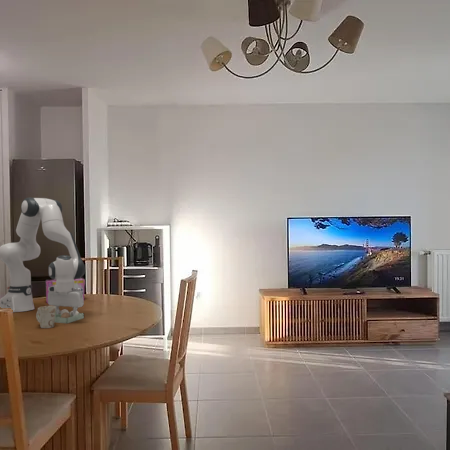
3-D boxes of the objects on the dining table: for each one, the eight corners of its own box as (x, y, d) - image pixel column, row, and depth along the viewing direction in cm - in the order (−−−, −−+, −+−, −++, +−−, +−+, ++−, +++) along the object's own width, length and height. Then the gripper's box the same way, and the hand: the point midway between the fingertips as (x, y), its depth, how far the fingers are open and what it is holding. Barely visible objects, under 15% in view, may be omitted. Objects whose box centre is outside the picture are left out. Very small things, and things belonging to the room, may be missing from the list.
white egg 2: (67, 319, 271) (67, 310, 271) (73, 317, 275) (73, 309, 275) (75, 320, 269) (74, 311, 269) (80, 318, 274) (80, 309, 274)
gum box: (85, 298, 340) (84, 277, 339) (86, 300, 332) (86, 278, 332) (46, 301, 331) (45, 279, 331) (46, 303, 324) (46, 281, 323)
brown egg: (65, 320, 270) (64, 311, 270) (72, 320, 268) (71, 311, 268) (59, 322, 265) (58, 313, 265) (66, 322, 264) (65, 313, 264)
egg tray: (36, 321, 270) (36, 315, 270) (54, 316, 282) (54, 311, 282) (67, 324, 262) (67, 318, 262) (84, 319, 274) (83, 313, 274)
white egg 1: (58, 318, 274) (57, 309, 274) (64, 316, 278) (63, 308, 278) (65, 319, 272) (65, 310, 272) (71, 317, 276) (70, 308, 276)
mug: (46, 330, 250) (45, 309, 249) (28, 327, 256) (28, 307, 256) (60, 327, 257) (59, 306, 256) (42, 324, 263) (42, 304, 263)
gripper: (86, 287, 265) (86, 315, 265) (53, 285, 273) (54, 312, 273) (77, 289, 259) (78, 317, 260) (45, 287, 267) (46, 314, 268)
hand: (66, 314), depth 267 cm, fingers open, 8 cm apart
